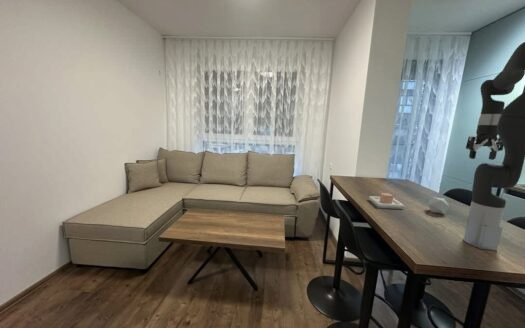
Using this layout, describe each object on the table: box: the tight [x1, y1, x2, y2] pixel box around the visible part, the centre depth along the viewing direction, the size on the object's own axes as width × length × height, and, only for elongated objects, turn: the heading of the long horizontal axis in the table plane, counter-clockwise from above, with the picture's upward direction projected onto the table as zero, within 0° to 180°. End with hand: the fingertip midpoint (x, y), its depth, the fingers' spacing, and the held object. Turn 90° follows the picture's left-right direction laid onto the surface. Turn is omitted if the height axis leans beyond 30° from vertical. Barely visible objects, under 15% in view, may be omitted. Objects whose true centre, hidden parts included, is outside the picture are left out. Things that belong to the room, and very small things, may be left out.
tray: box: [368, 195, 405, 210], centre depth 132 cm, size 14×14×2 cm
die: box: [426, 196, 450, 215], centre depth 121 cm, size 8×9×10 cm
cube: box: [379, 192, 394, 204], centre depth 131 cm, size 5×5×5 cm
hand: (481, 159), depth 104 cm, fingers open, 8 cm apart
